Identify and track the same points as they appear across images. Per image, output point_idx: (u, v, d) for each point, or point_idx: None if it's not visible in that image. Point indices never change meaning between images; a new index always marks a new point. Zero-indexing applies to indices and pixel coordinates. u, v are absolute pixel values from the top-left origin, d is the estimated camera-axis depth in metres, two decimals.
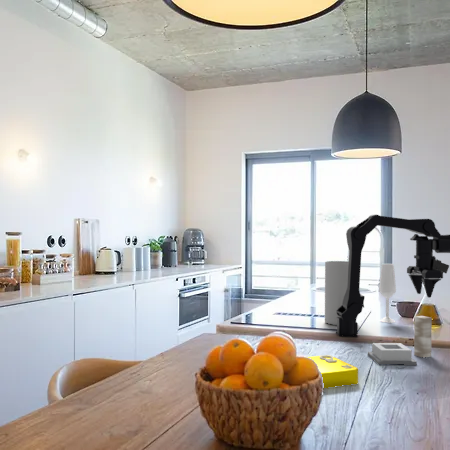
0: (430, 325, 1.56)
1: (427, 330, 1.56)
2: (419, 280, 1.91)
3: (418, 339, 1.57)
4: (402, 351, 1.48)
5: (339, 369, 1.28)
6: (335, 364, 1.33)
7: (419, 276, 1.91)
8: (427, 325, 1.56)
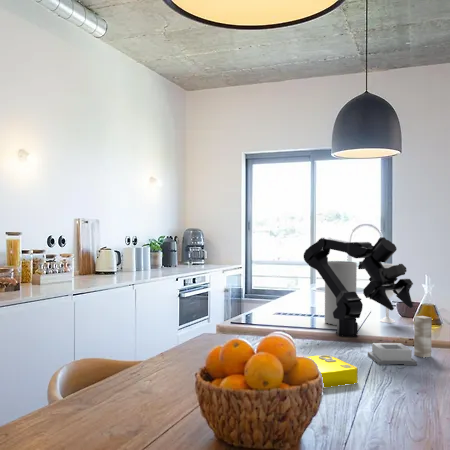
0: (430, 325, 1.56)
1: (427, 330, 1.56)
2: (404, 294, 1.70)
3: (418, 339, 1.57)
4: (402, 351, 1.48)
5: (338, 368, 1.29)
6: (334, 364, 1.33)
7: (402, 291, 1.71)
8: (427, 325, 1.56)
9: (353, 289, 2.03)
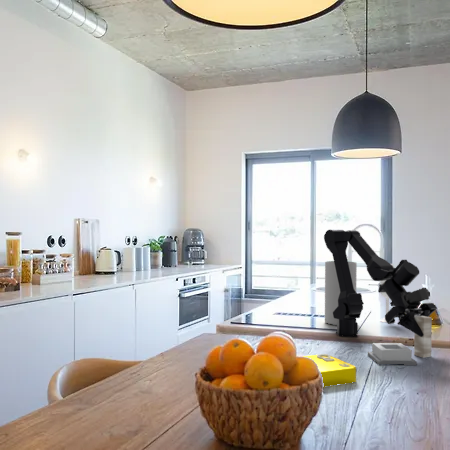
0: (430, 325, 1.56)
1: (427, 329, 1.56)
2: None
3: (418, 339, 1.57)
4: (402, 351, 1.48)
5: (337, 368, 1.29)
6: (333, 363, 1.34)
7: None
8: (427, 325, 1.56)
9: None
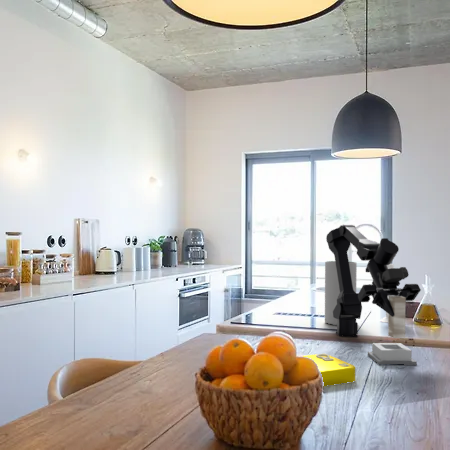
0: (404, 305, 1.51)
1: (399, 309, 1.51)
2: None
3: (391, 319, 1.52)
4: (402, 351, 1.48)
5: (337, 367, 1.30)
6: (332, 362, 1.34)
7: None
8: (399, 305, 1.51)
9: (353, 289, 2.03)
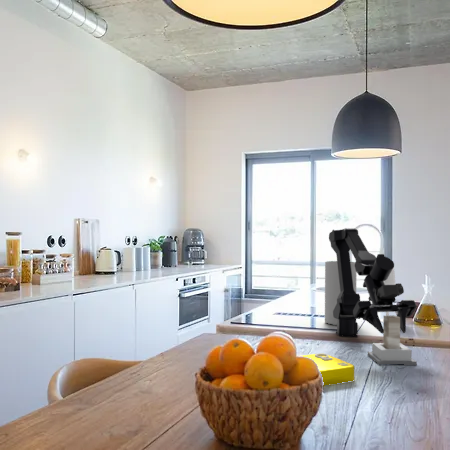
0: (398, 325, 1.51)
1: (394, 330, 1.50)
2: None
3: (385, 338, 1.52)
4: (402, 351, 1.48)
5: (336, 367, 1.30)
6: (331, 362, 1.35)
7: (399, 313, 1.56)
8: (394, 325, 1.50)
9: None
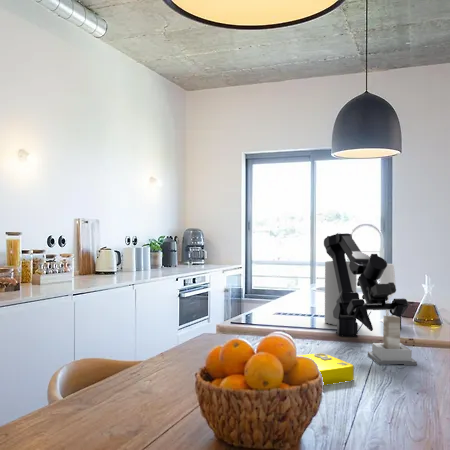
0: (398, 325, 1.51)
1: (394, 330, 1.50)
2: (395, 315, 1.60)
3: (385, 338, 1.52)
4: (402, 351, 1.48)
5: (336, 366, 1.31)
6: (330, 362, 1.35)
7: (394, 311, 1.61)
8: (394, 325, 1.50)
9: (353, 289, 2.03)
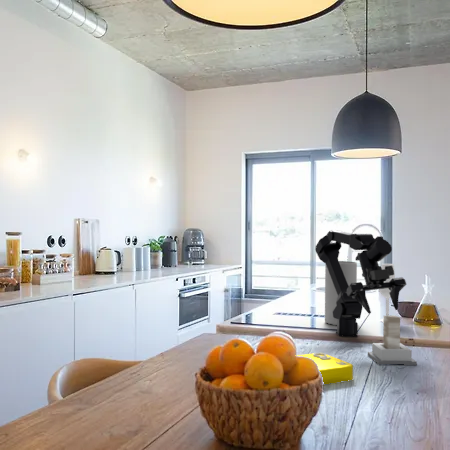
0: (398, 325, 1.51)
1: (394, 330, 1.50)
2: (393, 295, 1.67)
3: (385, 338, 1.52)
4: (402, 351, 1.48)
5: (335, 366, 1.31)
6: (330, 361, 1.36)
7: (392, 290, 1.68)
8: (394, 325, 1.50)
9: None
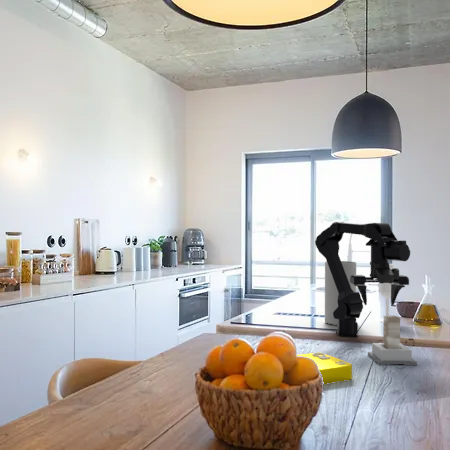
0: (398, 325, 1.51)
1: (394, 330, 1.50)
2: (393, 290, 1.74)
3: (385, 338, 1.52)
4: (402, 351, 1.48)
5: (334, 365, 1.32)
6: (329, 361, 1.36)
7: (394, 286, 1.73)
8: (394, 325, 1.50)
9: (353, 289, 2.03)
